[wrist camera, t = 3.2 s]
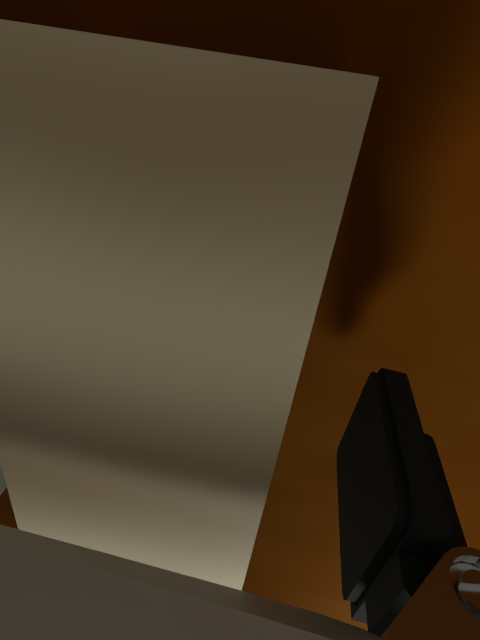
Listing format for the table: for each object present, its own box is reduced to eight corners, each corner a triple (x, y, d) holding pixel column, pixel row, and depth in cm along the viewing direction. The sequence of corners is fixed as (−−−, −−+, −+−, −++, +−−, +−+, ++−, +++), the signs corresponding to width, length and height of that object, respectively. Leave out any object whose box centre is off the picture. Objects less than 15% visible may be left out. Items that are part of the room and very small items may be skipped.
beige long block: (251, 487, 16) (218, 676, 11) (130, 459, 16) (44, 628, 11) (345, 79, 9) (379, 76, 4) (124, 45, 9) (-123, -1, 4)
